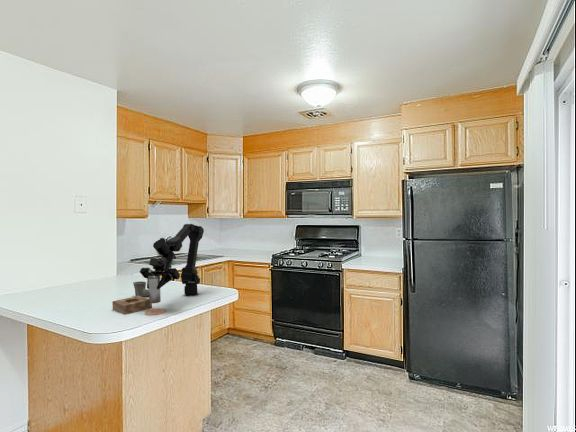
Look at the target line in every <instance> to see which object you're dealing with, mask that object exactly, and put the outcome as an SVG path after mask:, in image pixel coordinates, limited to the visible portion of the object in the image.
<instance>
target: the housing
mask: <svg viewBox="0 0 576 432" xmlns="http://www.w3.org/2000/svg"><path fill="white" fill-rule="evenodd" d="M152 304H153V303H149V297H148V298H147V297H145V296H143V297H141V296H135V295H134V296H131V297H127V298H123V299H122V298H121V299H116V300H112V310H113V311H115V312H119V313H120V312H121V314H123V315H129V314H133V313H135V312H140V311H144V310H150V309H152V307H153V305H152Z"/></svg>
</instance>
